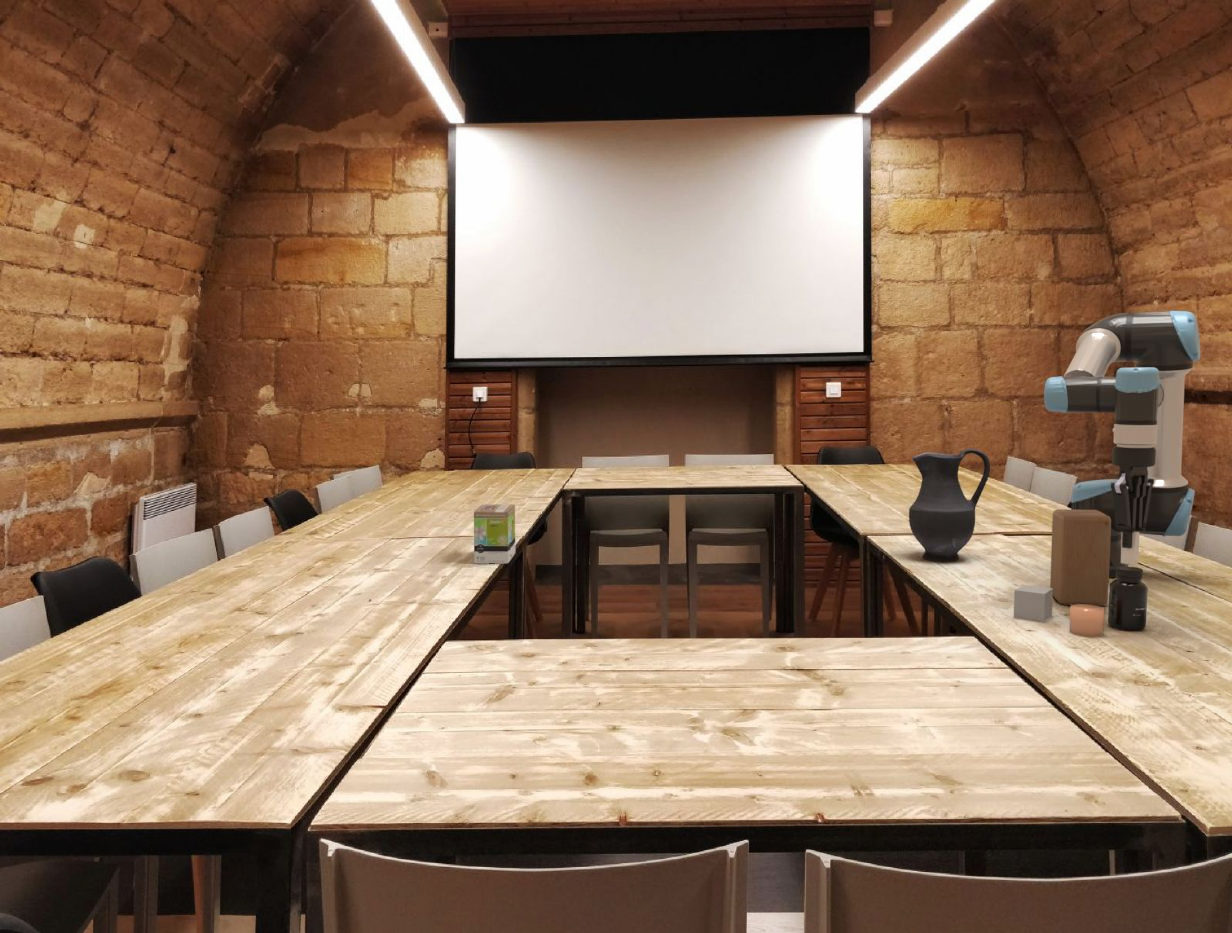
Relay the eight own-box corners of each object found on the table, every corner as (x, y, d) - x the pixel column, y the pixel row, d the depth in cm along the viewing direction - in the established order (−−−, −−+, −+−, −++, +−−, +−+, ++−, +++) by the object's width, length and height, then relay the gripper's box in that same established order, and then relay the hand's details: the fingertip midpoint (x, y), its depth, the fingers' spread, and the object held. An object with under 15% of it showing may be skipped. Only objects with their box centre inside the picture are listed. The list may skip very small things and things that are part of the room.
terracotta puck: (1079, 626, 195) (1080, 602, 194) (1109, 633, 190) (1110, 608, 189) (1063, 632, 191) (1064, 607, 191) (1093, 638, 186) (1094, 613, 186)
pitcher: (903, 552, 273) (905, 446, 269) (980, 552, 270) (983, 446, 267) (913, 564, 256) (915, 452, 252) (995, 565, 253) (998, 451, 249)
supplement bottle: (1144, 633, 189) (1147, 573, 188) (1106, 628, 193) (1108, 569, 192) (1147, 625, 195) (1149, 566, 194) (1109, 620, 199) (1111, 563, 197)
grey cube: (1022, 612, 207) (1023, 584, 206) (1051, 616, 203) (1052, 588, 202) (1013, 618, 202) (1014, 589, 202) (1043, 622, 198) (1044, 593, 198)
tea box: (510, 564, 264) (508, 510, 263) (473, 564, 265) (471, 511, 263) (516, 553, 279) (515, 502, 278) (481, 553, 280) (480, 503, 278)
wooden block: (1109, 607, 209) (1112, 516, 207) (1059, 605, 211) (1062, 515, 209) (1095, 596, 219) (1099, 509, 217) (1048, 594, 221) (1051, 508, 219)
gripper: (1131, 442, 197) (1126, 556, 199) (1098, 446, 189) (1093, 564, 192) (1169, 445, 191) (1164, 562, 193) (1137, 448, 183) (1132, 571, 186)
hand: (1129, 563), depth 192 cm, fingers closed
